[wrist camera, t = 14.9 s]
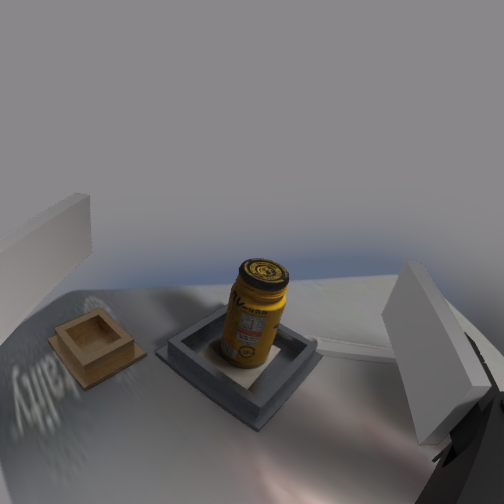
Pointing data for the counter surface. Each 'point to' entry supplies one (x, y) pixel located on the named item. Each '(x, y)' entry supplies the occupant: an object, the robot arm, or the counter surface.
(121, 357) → the small brown compartment box
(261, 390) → the large collar
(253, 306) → the condiment
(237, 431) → the counter surface
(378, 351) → the adjustable wrench
